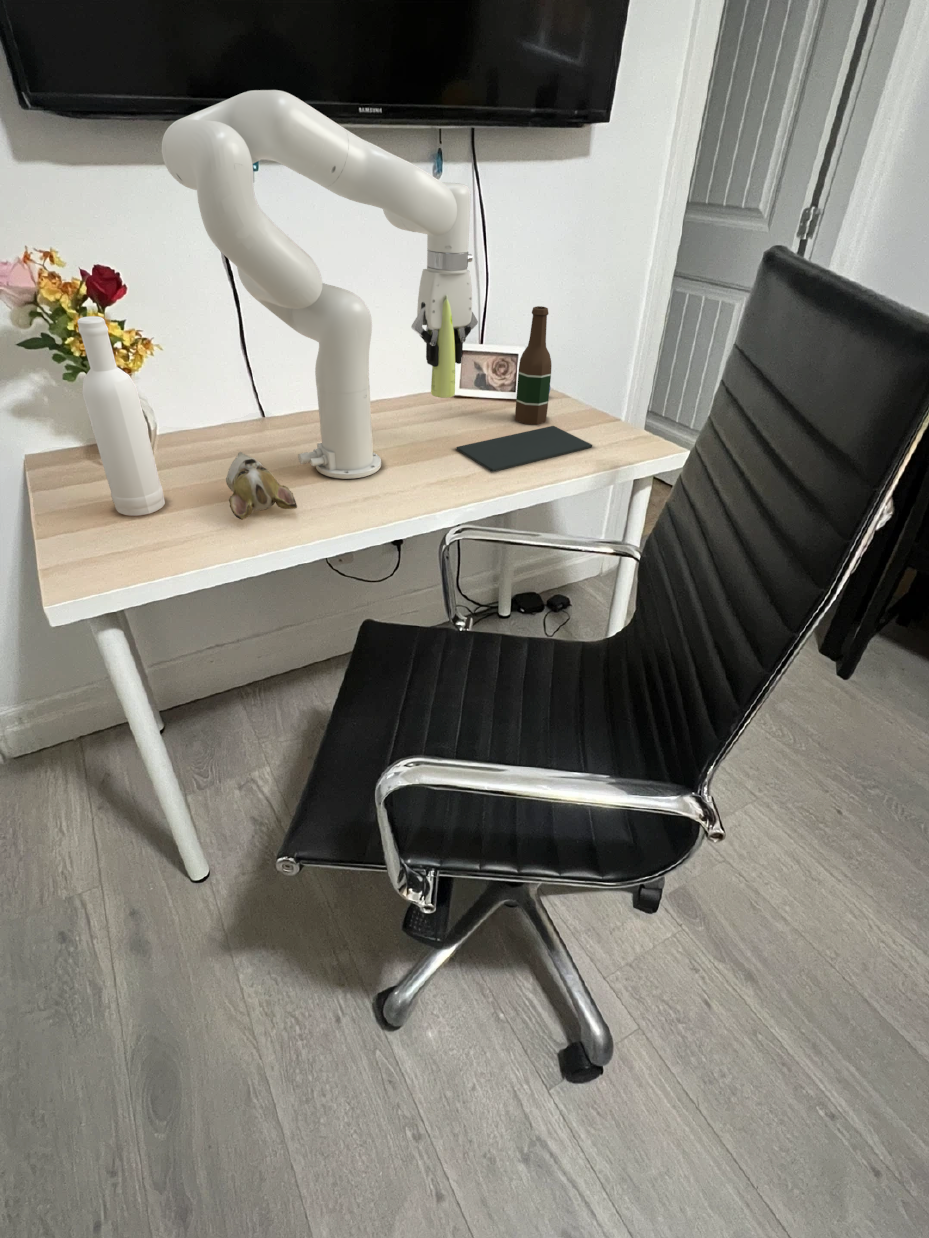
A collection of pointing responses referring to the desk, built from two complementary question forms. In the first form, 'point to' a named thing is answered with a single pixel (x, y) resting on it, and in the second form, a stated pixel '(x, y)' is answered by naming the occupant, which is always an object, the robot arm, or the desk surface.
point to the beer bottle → (534, 373)
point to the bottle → (118, 425)
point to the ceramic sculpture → (255, 488)
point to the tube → (445, 357)
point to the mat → (523, 448)
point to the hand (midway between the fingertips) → (444, 362)
